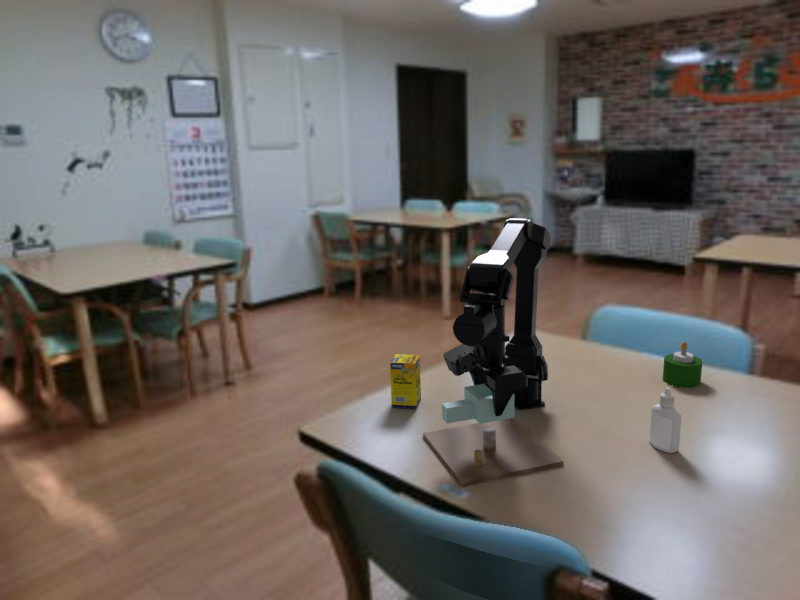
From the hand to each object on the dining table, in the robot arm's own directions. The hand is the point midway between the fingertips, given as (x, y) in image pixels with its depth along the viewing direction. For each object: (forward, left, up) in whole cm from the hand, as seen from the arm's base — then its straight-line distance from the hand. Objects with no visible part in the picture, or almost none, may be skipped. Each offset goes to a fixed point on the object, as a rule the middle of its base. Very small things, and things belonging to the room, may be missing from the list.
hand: (489, 407), depth 116 cm
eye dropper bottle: (-31, +11, -9) cm, 34 cm away
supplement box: (+8, -27, -9) cm, 29 cm away
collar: (+3, 0, -1) cm, 3 cm away
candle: (-57, -14, -9) cm, 59 cm away
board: (0, 0, -9) cm, 9 cm away
